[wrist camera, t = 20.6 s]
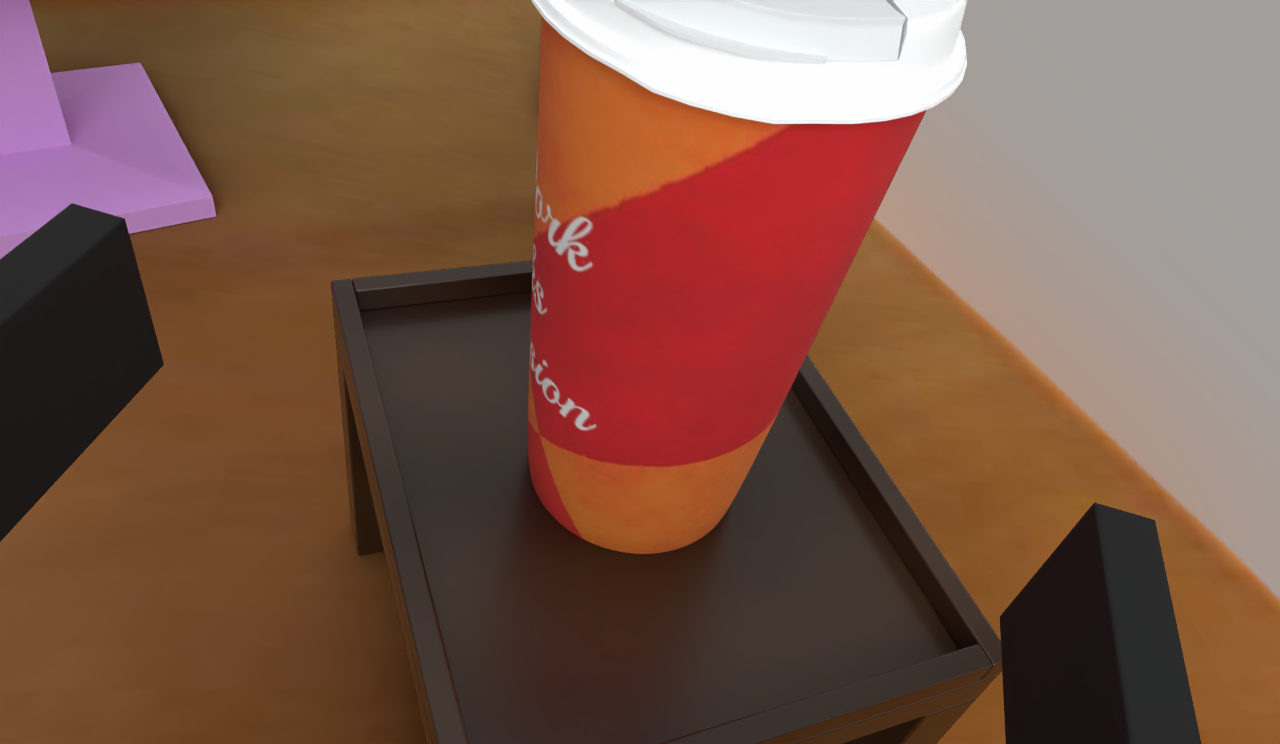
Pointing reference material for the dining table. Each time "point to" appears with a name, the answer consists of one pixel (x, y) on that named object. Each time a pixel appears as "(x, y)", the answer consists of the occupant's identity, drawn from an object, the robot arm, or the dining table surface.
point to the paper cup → (701, 232)
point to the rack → (633, 558)
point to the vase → (85, 142)
